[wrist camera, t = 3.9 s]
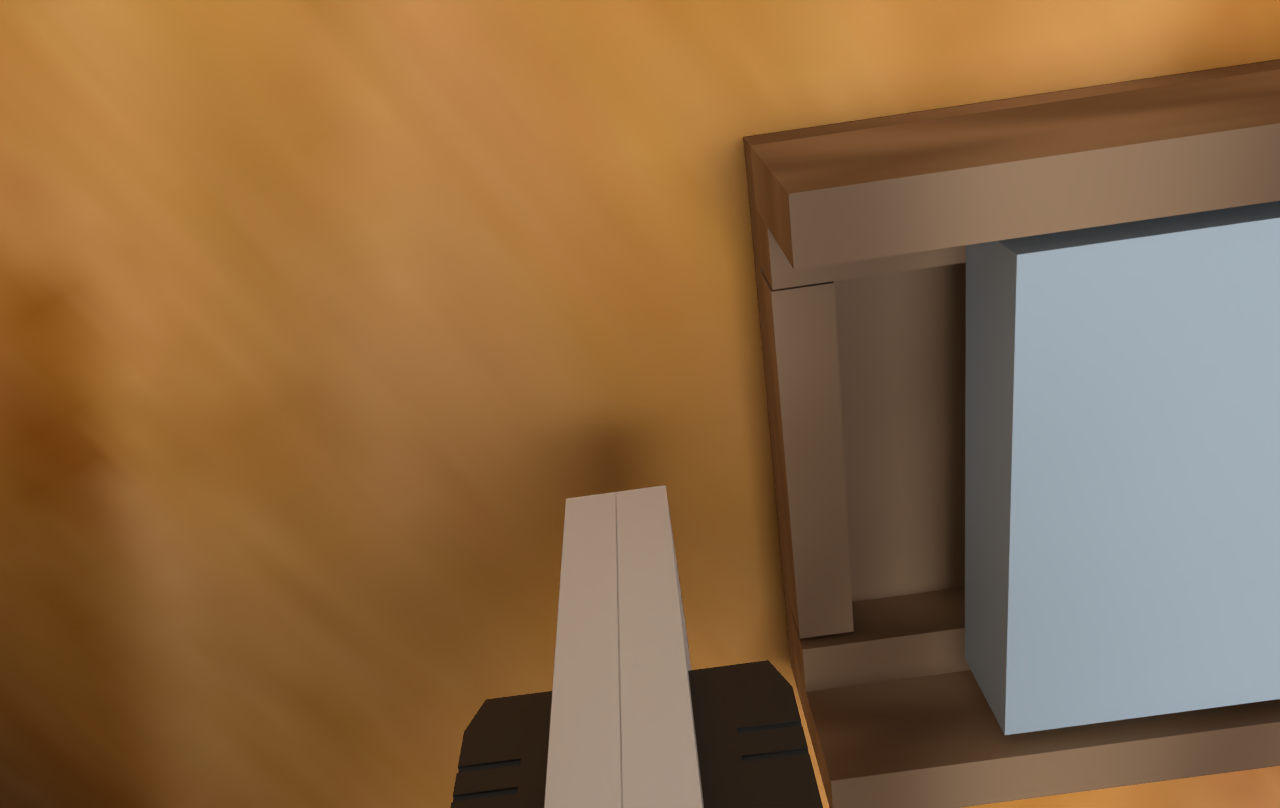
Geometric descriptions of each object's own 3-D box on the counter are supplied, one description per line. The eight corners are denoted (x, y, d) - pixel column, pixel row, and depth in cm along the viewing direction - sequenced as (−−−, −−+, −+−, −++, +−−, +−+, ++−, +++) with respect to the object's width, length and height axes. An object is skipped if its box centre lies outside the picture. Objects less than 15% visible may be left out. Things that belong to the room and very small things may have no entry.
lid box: (790, 664, 21) (833, 823, 17) (743, 136, 16) (788, 193, 12) (1458, 574, 21) (1653, 716, 17) (1601, 12, 16) (1915, 31, 12)
